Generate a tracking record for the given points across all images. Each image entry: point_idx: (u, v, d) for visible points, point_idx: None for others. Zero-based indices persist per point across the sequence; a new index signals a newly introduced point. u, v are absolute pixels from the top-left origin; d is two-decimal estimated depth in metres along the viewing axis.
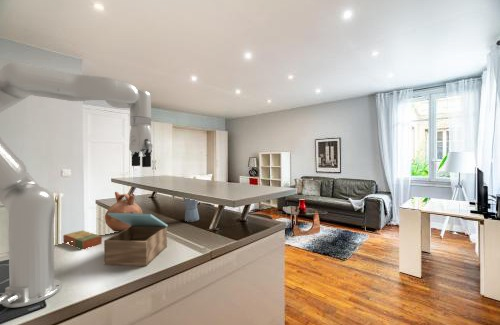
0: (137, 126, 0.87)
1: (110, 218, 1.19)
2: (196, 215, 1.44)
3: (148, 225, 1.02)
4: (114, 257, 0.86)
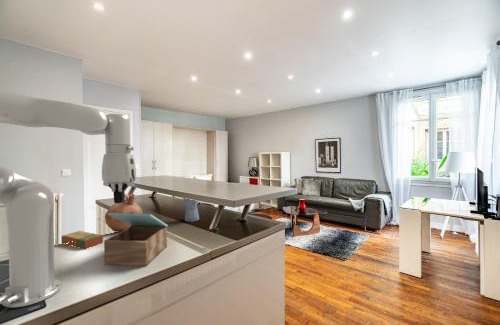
0: None
1: (110, 218, 1.19)
2: (196, 215, 1.44)
3: (148, 225, 1.02)
4: (114, 257, 0.86)
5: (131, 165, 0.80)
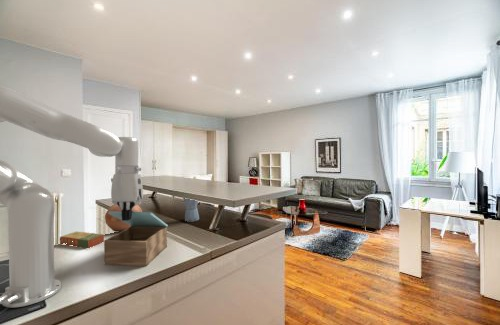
0: None
1: (110, 218, 1.19)
2: (196, 215, 1.44)
3: (148, 225, 1.02)
4: (114, 257, 0.86)
5: (139, 185, 0.85)
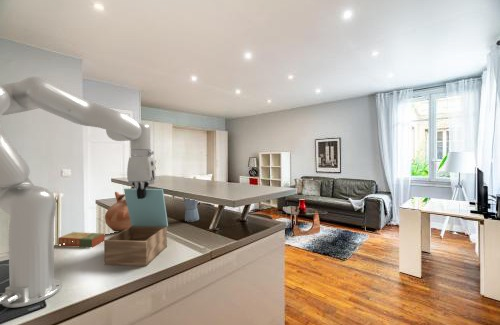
0: None
1: (110, 218, 1.19)
2: (196, 215, 1.44)
3: (149, 222, 1.03)
4: (114, 257, 0.86)
5: (152, 167, 0.95)
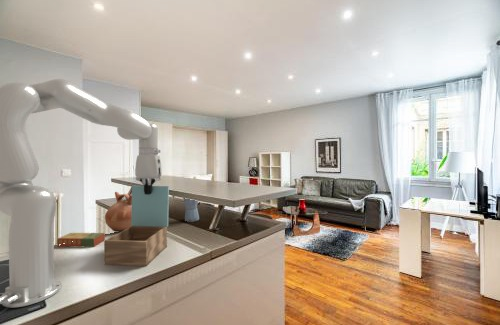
0: None
1: (110, 218, 1.19)
2: (196, 215, 1.44)
3: (150, 222, 1.03)
4: (114, 257, 0.86)
5: (158, 164, 1.01)
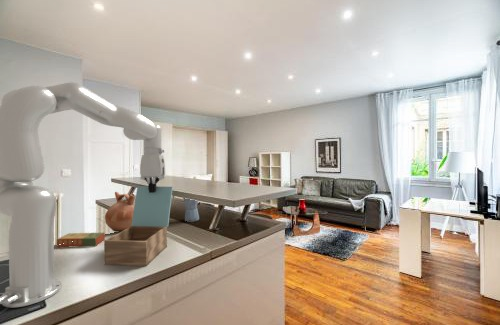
0: None
1: (110, 218, 1.19)
2: (196, 215, 1.44)
3: (150, 222, 1.04)
4: (114, 257, 0.86)
5: (162, 163, 1.05)
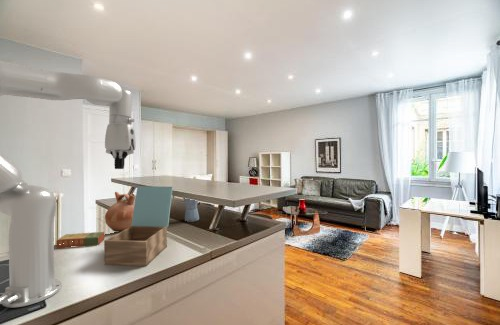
0: None
1: (110, 218, 1.19)
2: (196, 215, 1.44)
3: (150, 222, 1.04)
4: (114, 257, 0.86)
5: (131, 135, 0.89)
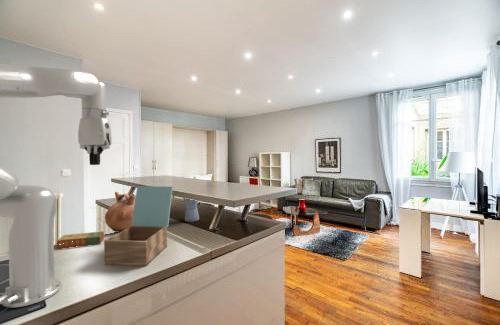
0: None
1: (110, 218, 1.19)
2: (196, 215, 1.44)
3: (150, 222, 1.04)
4: (114, 257, 0.86)
5: (106, 129, 0.85)
